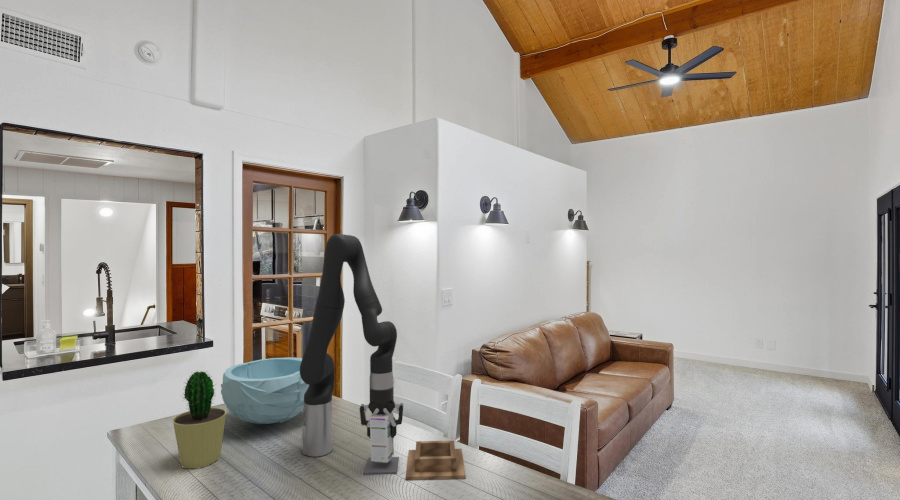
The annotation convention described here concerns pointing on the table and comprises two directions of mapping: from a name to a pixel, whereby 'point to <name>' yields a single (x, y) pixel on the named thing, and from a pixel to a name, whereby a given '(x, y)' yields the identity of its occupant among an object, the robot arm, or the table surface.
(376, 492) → the table surface
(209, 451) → the potted cactus
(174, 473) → the table surface
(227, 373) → the bowl
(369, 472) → the felt pad
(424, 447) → the collar stand
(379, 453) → the syrup box
